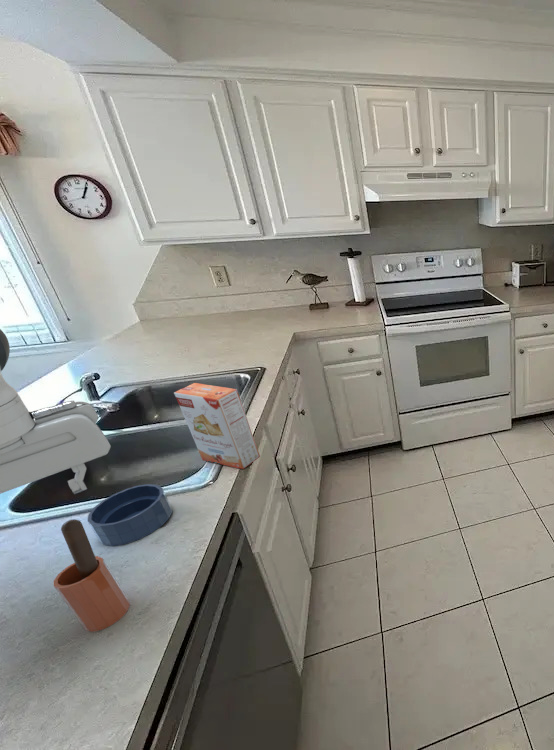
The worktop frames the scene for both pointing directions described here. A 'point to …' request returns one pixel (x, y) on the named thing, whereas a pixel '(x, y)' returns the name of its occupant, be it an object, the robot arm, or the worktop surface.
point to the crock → (92, 596)
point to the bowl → (130, 514)
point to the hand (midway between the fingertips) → (36, 507)
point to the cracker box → (218, 424)
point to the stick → (79, 547)
